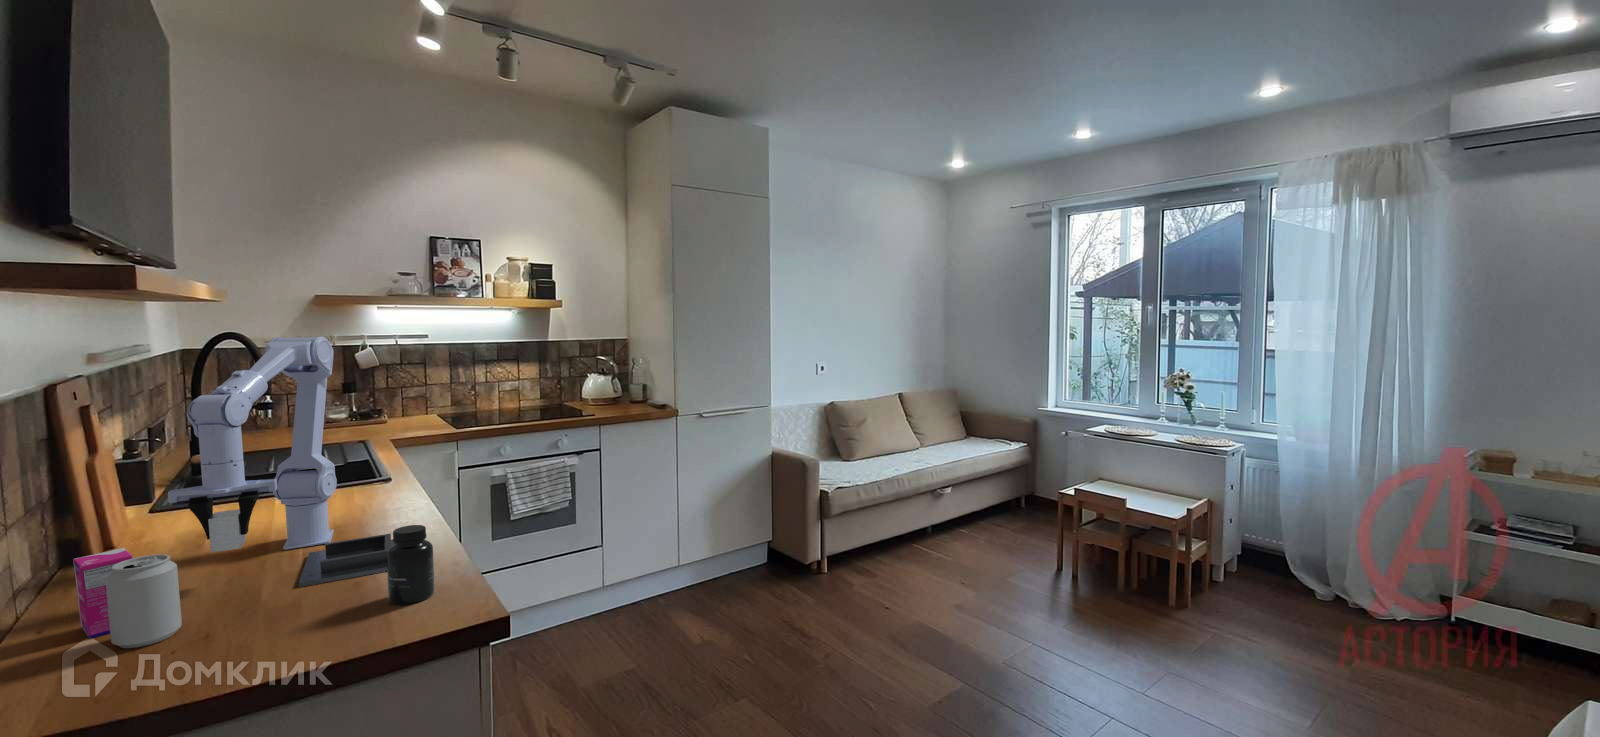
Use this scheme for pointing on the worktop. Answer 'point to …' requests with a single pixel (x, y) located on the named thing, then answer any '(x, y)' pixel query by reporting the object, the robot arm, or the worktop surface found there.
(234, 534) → the block
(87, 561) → the supplement box
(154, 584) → the can
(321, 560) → the cradle
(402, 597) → the supplement bottle
